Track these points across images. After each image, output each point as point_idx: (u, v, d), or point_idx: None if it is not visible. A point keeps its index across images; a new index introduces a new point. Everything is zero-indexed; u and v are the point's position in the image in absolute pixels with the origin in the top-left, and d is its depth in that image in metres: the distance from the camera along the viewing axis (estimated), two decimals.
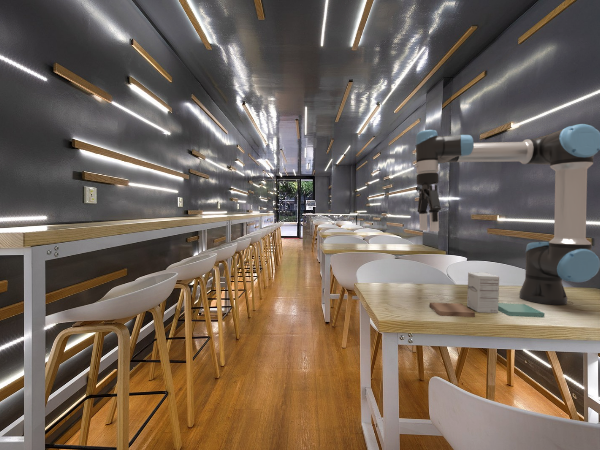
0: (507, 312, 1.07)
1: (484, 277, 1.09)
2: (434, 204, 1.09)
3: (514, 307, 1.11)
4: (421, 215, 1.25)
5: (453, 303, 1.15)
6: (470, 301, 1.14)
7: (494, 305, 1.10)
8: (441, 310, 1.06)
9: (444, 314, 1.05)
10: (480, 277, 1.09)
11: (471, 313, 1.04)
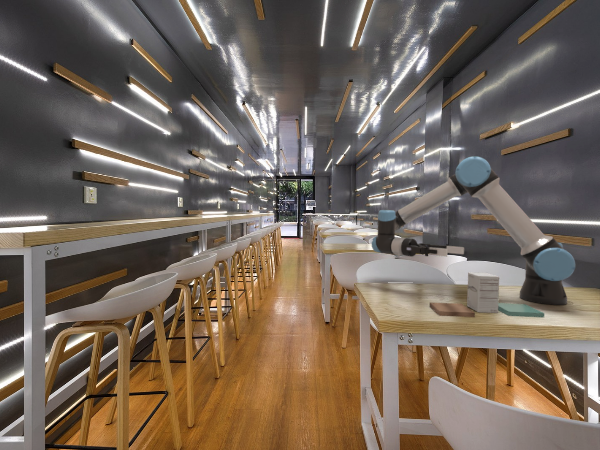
0: (507, 312, 1.07)
1: (484, 277, 1.09)
2: (419, 252, 1.21)
3: (514, 307, 1.11)
4: (448, 251, 1.29)
5: (453, 303, 1.15)
6: (470, 301, 1.14)
7: (494, 305, 1.10)
8: (441, 310, 1.06)
9: (444, 314, 1.05)
10: (480, 277, 1.09)
11: (471, 313, 1.04)
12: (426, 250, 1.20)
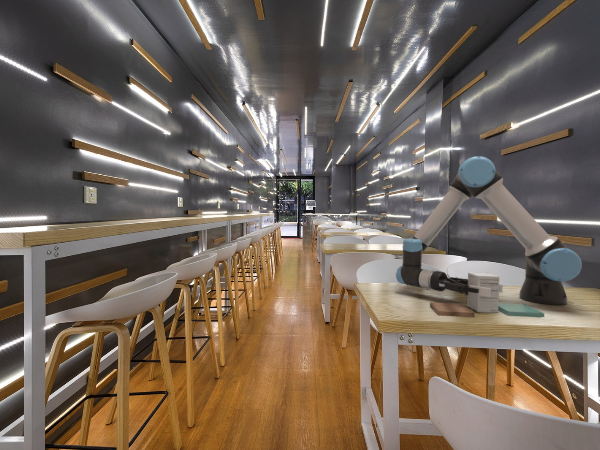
0: (506, 312, 1.07)
1: (484, 277, 1.09)
2: (457, 290, 1.12)
3: (514, 307, 1.11)
4: None
5: (454, 303, 1.15)
6: (470, 301, 1.14)
7: (494, 305, 1.10)
8: (440, 310, 1.07)
9: (443, 314, 1.05)
10: (480, 277, 1.09)
11: (471, 313, 1.04)
12: (466, 288, 1.10)
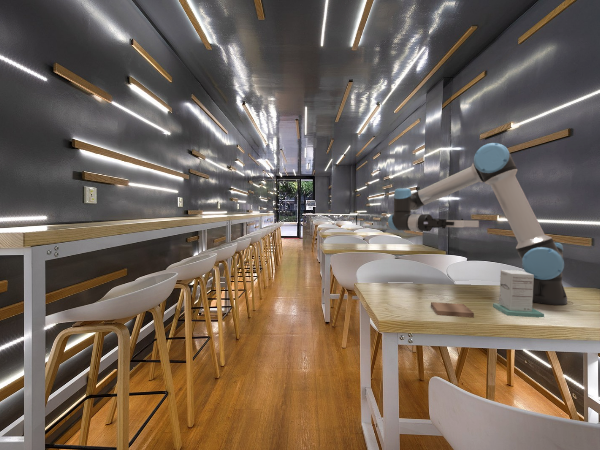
0: (505, 312, 1.07)
1: (517, 275, 1.07)
2: (436, 224, 1.27)
3: None
4: None
5: None
6: (502, 299, 1.13)
7: (528, 304, 1.07)
8: (439, 310, 1.07)
9: (442, 314, 1.06)
10: (513, 275, 1.07)
11: (470, 313, 1.04)
12: (443, 222, 1.26)
